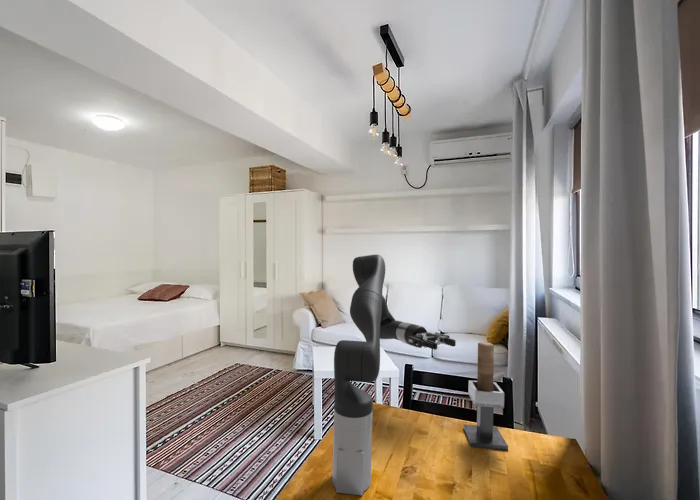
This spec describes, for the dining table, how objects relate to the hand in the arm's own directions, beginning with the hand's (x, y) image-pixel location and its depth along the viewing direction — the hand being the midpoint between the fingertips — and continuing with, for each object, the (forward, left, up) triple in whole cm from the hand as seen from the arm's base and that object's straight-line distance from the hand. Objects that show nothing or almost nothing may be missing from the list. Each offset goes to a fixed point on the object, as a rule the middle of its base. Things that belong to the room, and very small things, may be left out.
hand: (445, 344), depth 107 cm
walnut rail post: (-7, -10, -13) cm, 18 cm away
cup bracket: (-7, -11, -25) cm, 28 cm away
